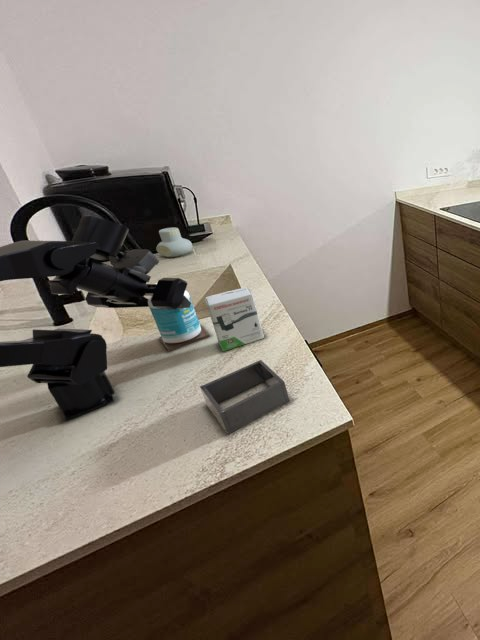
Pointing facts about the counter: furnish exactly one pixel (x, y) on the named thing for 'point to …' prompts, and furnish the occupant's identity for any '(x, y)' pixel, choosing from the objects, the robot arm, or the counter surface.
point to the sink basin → (250, 406)
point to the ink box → (234, 318)
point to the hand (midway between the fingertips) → (170, 304)
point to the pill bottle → (176, 322)
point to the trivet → (173, 346)
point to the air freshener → (173, 243)
